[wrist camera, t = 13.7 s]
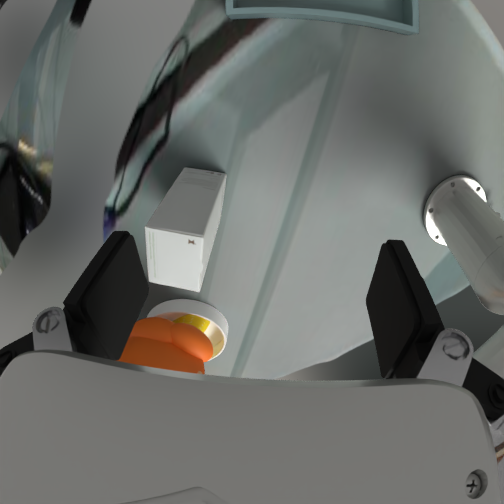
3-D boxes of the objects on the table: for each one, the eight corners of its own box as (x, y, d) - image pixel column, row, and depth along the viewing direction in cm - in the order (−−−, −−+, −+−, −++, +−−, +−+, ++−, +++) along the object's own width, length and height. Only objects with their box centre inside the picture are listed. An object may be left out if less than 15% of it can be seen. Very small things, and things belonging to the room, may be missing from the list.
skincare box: (185, 165, 40) (141, 222, 28) (230, 173, 41) (205, 234, 28) (181, 215, 46) (145, 283, 33) (222, 223, 46) (200, 295, 33)
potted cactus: (247, 330, 61) (225, 498, 33) (185, 361, 71) (153, 490, 43) (164, 268, 53) (91, 456, 25) (114, 314, 63) (57, 449, 35)
